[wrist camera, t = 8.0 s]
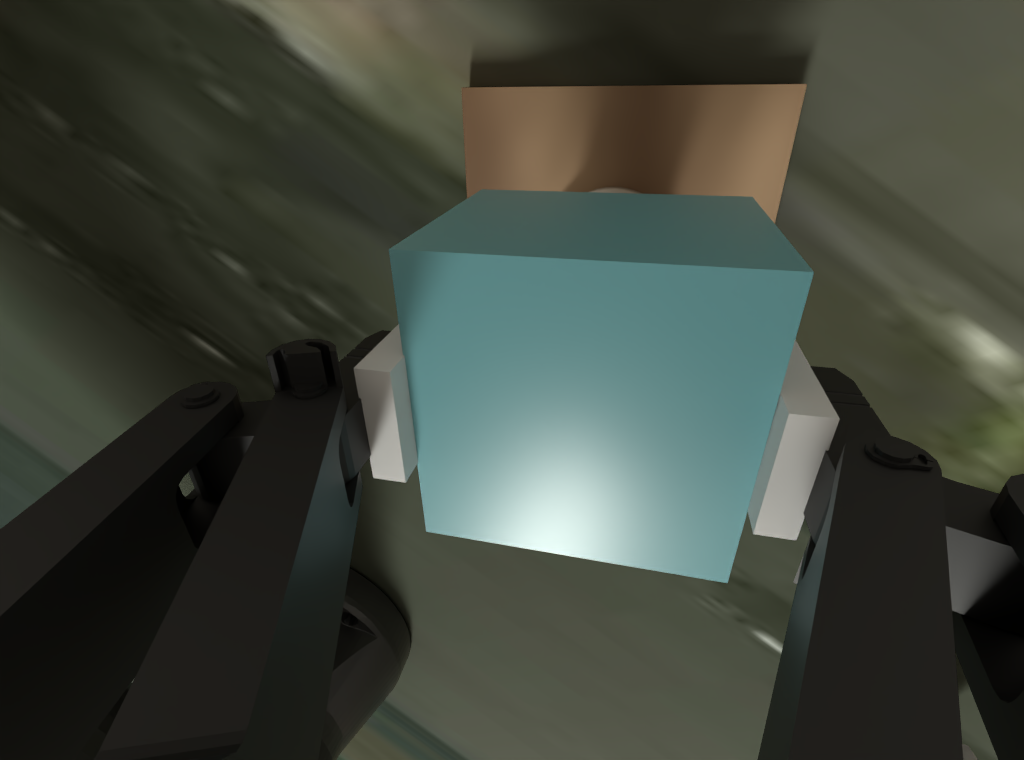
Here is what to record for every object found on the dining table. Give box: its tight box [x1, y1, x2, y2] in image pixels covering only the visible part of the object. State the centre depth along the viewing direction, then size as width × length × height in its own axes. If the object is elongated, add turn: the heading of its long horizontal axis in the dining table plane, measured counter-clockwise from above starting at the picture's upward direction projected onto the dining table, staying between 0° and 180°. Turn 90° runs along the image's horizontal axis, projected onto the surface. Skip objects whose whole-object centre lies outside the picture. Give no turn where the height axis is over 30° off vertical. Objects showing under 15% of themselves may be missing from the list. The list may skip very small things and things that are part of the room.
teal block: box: [389, 189, 814, 583], centre depth 13 cm, size 7×7×6 cm
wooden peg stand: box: [462, 84, 807, 224], centre depth 18 cm, size 12×12×10 cm
